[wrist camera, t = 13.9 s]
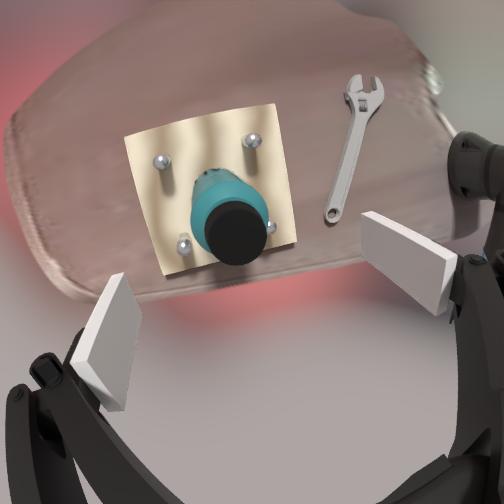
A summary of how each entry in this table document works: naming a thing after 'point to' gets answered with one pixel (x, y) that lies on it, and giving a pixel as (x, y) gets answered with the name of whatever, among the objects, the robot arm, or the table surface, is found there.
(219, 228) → the beverage bottle
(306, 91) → the table surface
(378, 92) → the adjustable wrench
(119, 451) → the robot arm
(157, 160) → the steel pegs
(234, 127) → the birch board
